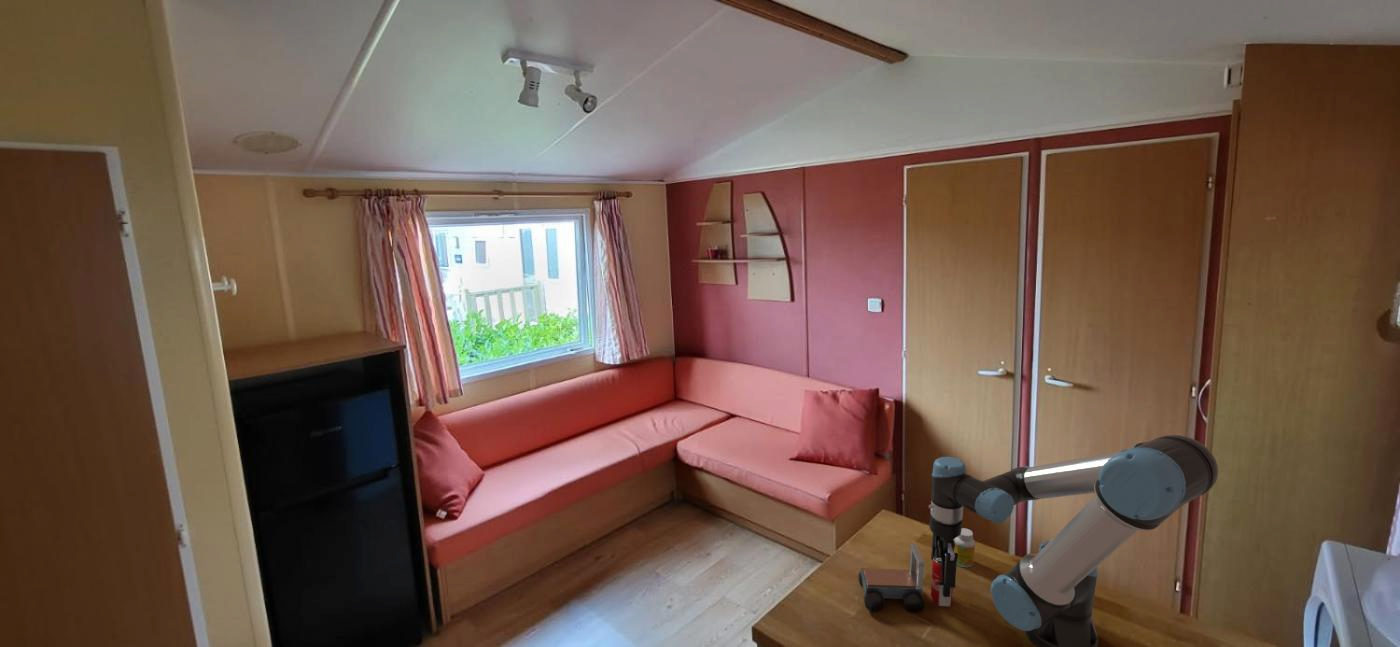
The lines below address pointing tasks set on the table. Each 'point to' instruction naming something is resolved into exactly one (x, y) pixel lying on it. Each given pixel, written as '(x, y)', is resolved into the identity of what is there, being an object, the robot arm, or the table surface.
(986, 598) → the table surface
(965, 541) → the supplement bottle
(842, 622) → the table surface
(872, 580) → the trolley
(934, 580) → the beverage can
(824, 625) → the table surface
